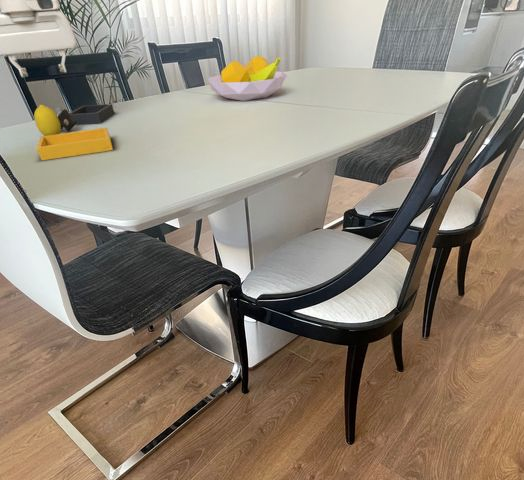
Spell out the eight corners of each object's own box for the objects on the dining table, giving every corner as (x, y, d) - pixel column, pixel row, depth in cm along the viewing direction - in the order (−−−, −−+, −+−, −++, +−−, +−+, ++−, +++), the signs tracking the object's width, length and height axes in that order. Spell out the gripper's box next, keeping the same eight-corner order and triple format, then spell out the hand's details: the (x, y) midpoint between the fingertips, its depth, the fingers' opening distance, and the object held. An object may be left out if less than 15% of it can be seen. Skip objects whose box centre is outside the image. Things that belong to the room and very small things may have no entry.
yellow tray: (41, 160, 86) (36, 147, 84) (45, 148, 94) (40, 136, 92) (113, 150, 89) (109, 137, 87) (110, 139, 97) (107, 127, 96)
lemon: (43, 144, 97) (28, 107, 92) (43, 140, 101) (29, 104, 95) (66, 141, 98) (53, 104, 93) (65, 136, 102) (52, 101, 97)
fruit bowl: (199, 97, 137) (194, 57, 130) (267, 87, 145) (266, 49, 137) (227, 109, 118) (222, 63, 110) (304, 97, 126) (305, 54, 118)
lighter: (58, 141, 108) (42, 124, 106) (62, 139, 110) (46, 122, 107) (73, 123, 104) (57, 105, 102) (77, 122, 106) (61, 104, 103)
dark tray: (101, 123, 113) (98, 112, 111) (69, 125, 113) (65, 115, 112) (114, 113, 123) (112, 104, 121) (85, 115, 123) (82, 105, 122)
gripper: (-34, 5, 85) (-1, 81, 94) (63, -2, 89) (85, 71, 98) (-28, 6, 89) (2, 78, 99) (64, -1, 94) (85, 69, 103)
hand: (44, 74), depth 99 cm, fingers open, 8 cm apart
